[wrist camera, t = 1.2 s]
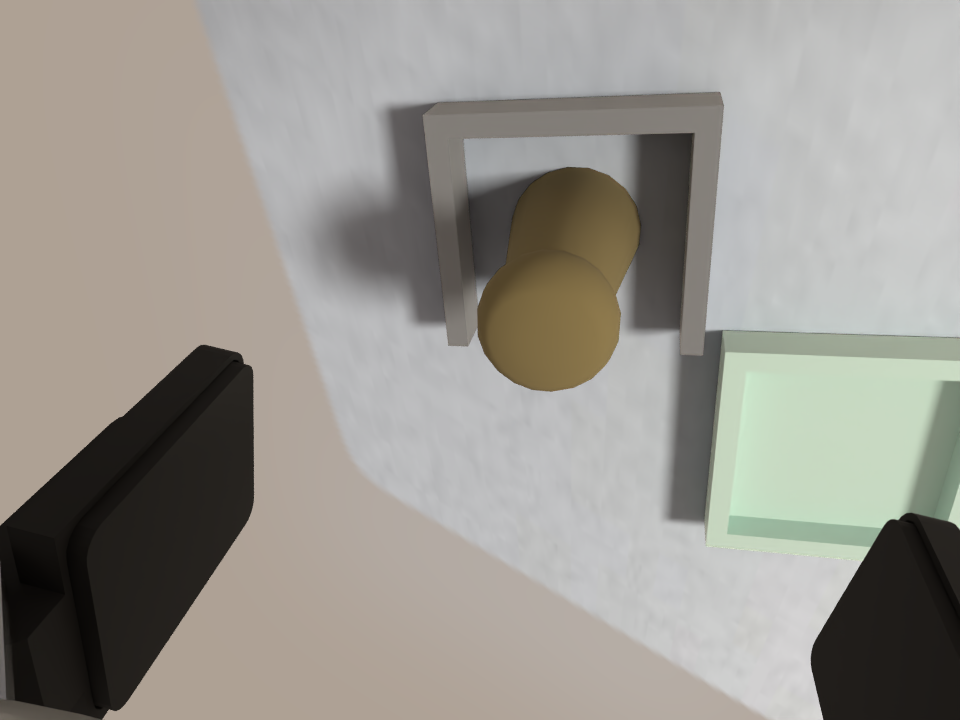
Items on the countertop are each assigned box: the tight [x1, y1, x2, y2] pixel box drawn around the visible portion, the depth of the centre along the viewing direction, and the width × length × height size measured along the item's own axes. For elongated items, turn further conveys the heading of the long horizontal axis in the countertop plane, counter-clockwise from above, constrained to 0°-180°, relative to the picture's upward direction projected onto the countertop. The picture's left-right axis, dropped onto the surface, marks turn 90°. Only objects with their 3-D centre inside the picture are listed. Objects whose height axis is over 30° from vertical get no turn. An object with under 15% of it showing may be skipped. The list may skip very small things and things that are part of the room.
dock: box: [423, 92, 724, 356], centre depth 33 cm, size 12×11×2 cm
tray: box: [704, 331, 960, 561], centre depth 36 cm, size 12×12×2 cm
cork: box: [477, 167, 641, 392], centre depth 30 cm, size 6×6×11 cm
